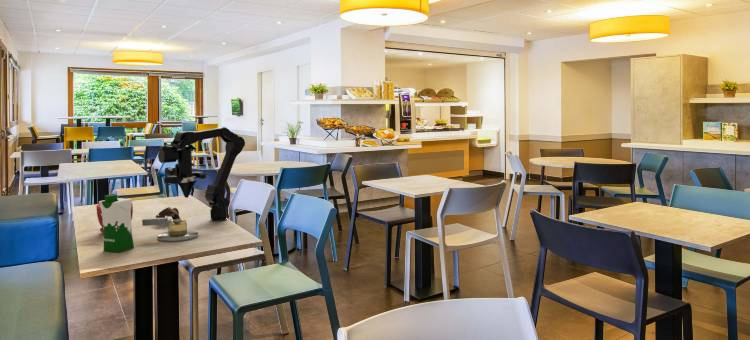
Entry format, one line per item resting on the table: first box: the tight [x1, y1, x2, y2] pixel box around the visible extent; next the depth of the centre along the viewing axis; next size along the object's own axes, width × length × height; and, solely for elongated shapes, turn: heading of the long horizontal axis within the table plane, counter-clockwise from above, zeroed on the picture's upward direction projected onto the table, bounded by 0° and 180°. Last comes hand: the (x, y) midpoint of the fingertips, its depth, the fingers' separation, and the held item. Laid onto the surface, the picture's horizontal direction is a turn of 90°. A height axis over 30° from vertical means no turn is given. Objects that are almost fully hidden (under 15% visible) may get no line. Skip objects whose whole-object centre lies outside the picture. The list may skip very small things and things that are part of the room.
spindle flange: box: [156, 218, 199, 243], centre depth 207 cm, size 15×15×7 cm
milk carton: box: [98, 193, 135, 254], centre depth 189 cm, size 9×9×20 cm
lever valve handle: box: [141, 217, 188, 236], centre depth 206 cm, size 16×7×6 cm, turn 104°
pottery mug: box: [155, 206, 181, 220], centre depth 232 cm, size 12×10×8 cm
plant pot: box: [96, 203, 134, 234], centre depth 215 cm, size 13×13×12 cm
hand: (186, 197), depth 227 cm, fingers closed
